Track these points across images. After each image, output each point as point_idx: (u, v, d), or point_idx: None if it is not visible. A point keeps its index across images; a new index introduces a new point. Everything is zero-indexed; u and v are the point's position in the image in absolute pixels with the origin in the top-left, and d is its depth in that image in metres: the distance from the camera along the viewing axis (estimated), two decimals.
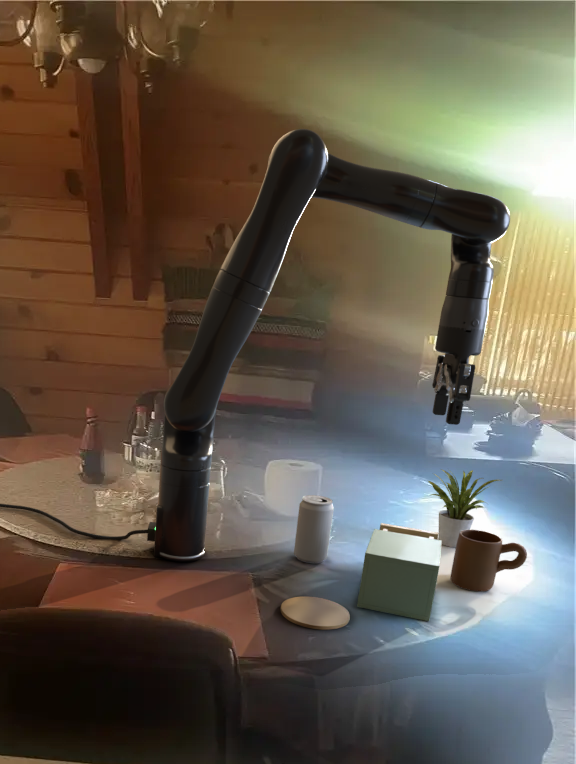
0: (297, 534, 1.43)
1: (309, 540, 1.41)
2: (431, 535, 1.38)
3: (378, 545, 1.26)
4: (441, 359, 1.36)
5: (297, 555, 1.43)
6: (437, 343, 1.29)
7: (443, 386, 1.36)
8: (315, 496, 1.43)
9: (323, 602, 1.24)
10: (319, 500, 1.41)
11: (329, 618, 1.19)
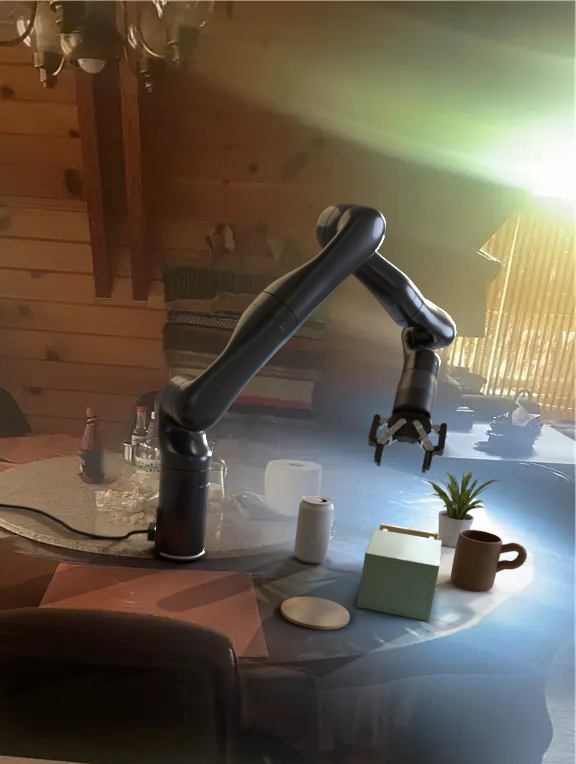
0: (297, 534, 1.43)
1: (309, 540, 1.41)
2: (431, 535, 1.38)
3: (378, 545, 1.26)
4: (380, 418, 1.47)
5: (297, 555, 1.43)
6: (415, 400, 1.44)
7: None
8: (315, 496, 1.43)
9: (323, 602, 1.24)
10: (319, 500, 1.41)
11: (329, 618, 1.19)
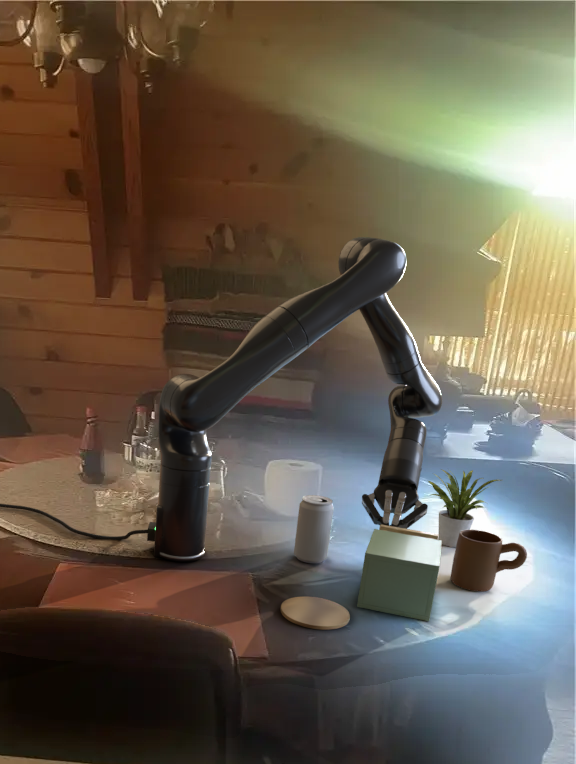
0: (297, 534, 1.43)
1: (309, 540, 1.41)
2: (431, 537, 1.37)
3: (378, 545, 1.26)
4: None
5: (297, 555, 1.43)
6: (401, 471, 1.44)
7: None
8: (315, 496, 1.43)
9: (323, 602, 1.24)
10: (319, 500, 1.41)
11: (329, 618, 1.19)
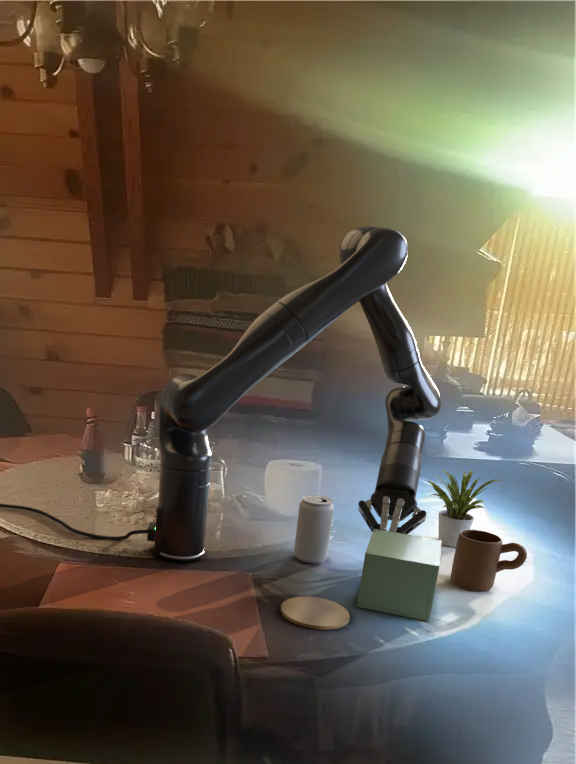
0: (297, 534, 1.43)
1: (309, 540, 1.41)
2: None
3: (378, 545, 1.26)
4: (364, 503, 1.42)
5: (297, 555, 1.43)
6: (399, 477, 1.40)
7: None
8: (315, 496, 1.43)
9: (323, 602, 1.24)
10: (319, 500, 1.41)
11: (329, 618, 1.19)
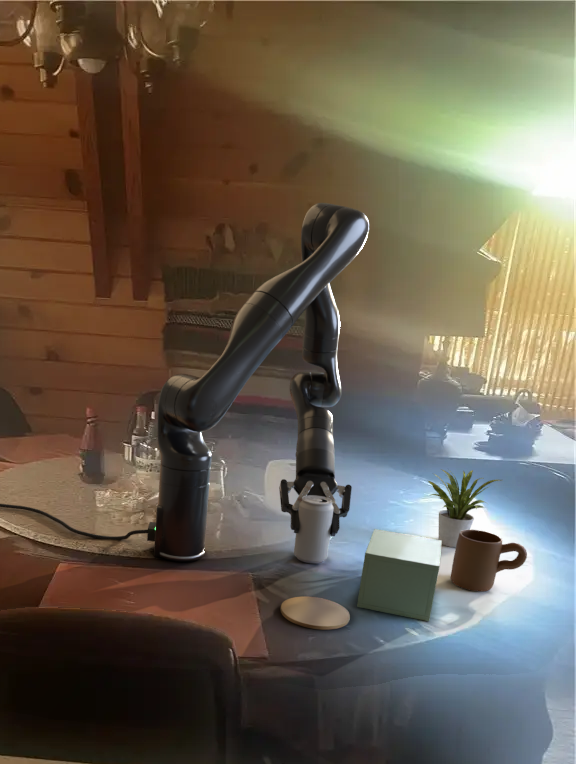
0: (297, 534, 1.43)
1: (309, 540, 1.41)
2: None
3: (378, 545, 1.26)
4: (286, 482, 1.46)
5: (297, 555, 1.43)
6: (320, 461, 1.45)
7: None
8: (315, 496, 1.43)
9: (323, 602, 1.24)
10: (319, 500, 1.41)
11: (329, 618, 1.19)
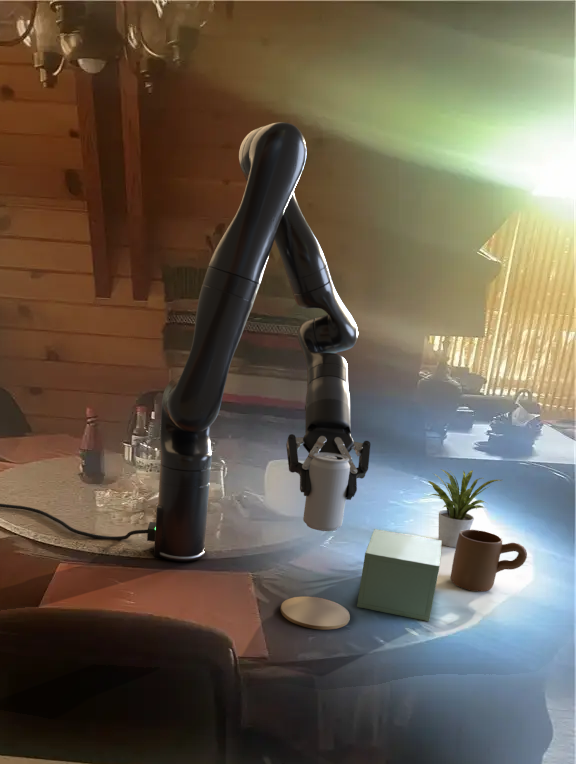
0: (307, 497, 1.23)
1: (321, 504, 1.21)
2: None
3: (378, 545, 1.26)
4: None
5: (307, 522, 1.23)
6: (334, 413, 1.25)
7: None
8: (328, 453, 1.23)
9: (323, 602, 1.24)
10: (333, 457, 1.21)
11: (329, 618, 1.19)
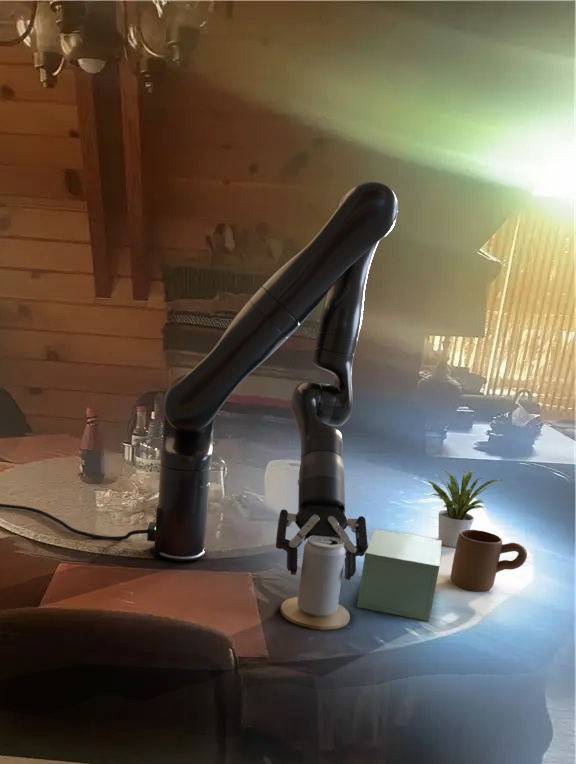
0: (301, 582, 1.19)
1: (316, 590, 1.17)
2: None
3: (378, 545, 1.26)
4: None
5: (301, 607, 1.19)
6: (328, 492, 1.20)
7: None
8: (323, 536, 1.20)
9: None
10: (328, 542, 1.17)
11: (329, 618, 1.19)
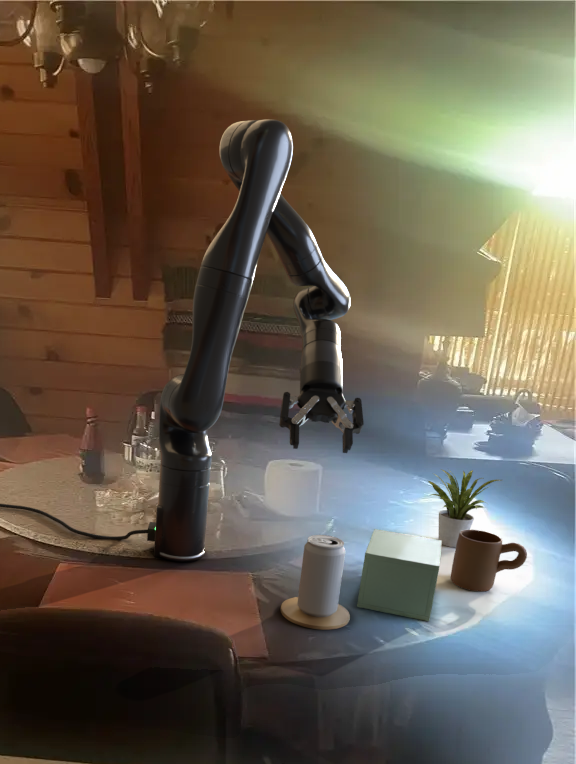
0: (301, 582, 1.19)
1: (316, 590, 1.17)
2: None
3: (378, 545, 1.26)
4: (290, 396, 1.33)
5: (301, 607, 1.19)
6: (327, 374, 1.32)
7: None
8: (323, 536, 1.20)
9: None
10: (328, 542, 1.17)
11: (329, 618, 1.19)
